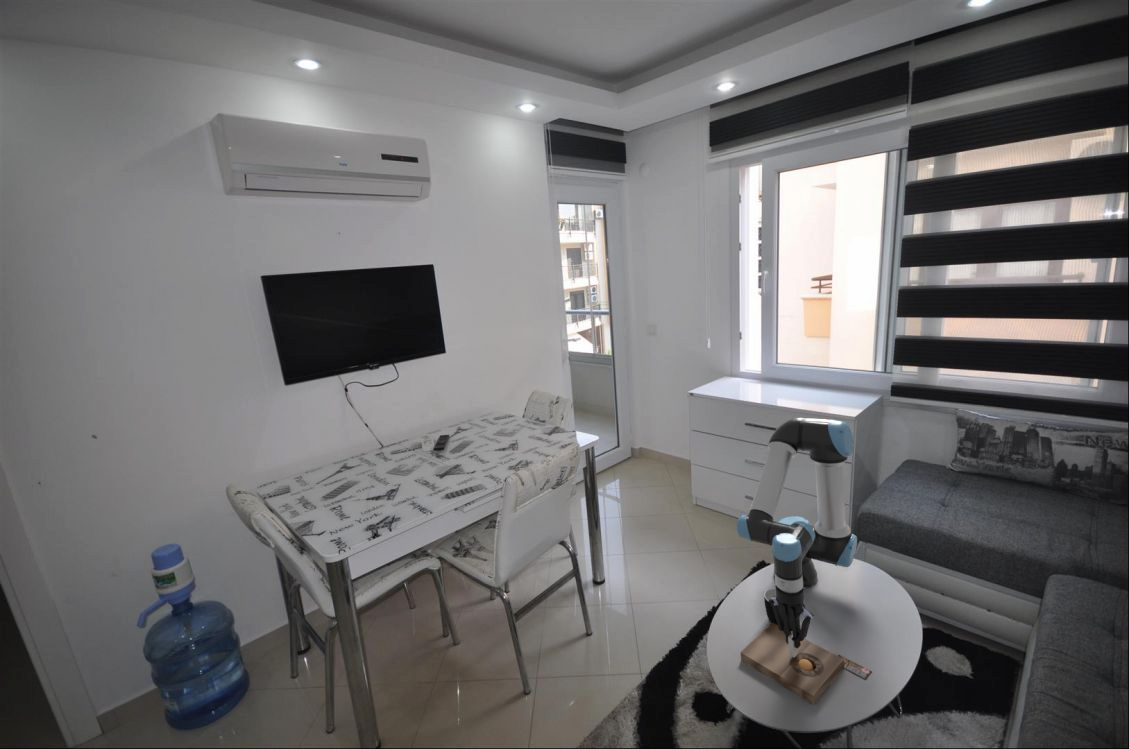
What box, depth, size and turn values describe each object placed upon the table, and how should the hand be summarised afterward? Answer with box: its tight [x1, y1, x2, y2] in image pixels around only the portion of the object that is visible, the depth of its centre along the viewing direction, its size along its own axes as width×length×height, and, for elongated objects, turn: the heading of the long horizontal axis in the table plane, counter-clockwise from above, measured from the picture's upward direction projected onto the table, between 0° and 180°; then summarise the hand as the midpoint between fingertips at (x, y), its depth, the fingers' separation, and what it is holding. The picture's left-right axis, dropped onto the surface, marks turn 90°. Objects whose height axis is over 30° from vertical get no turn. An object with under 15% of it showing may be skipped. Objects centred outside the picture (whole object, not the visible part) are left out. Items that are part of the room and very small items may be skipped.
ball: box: [798, 659, 814, 671], centre depth 148 cm, size 4×4×4 cm
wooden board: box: [740, 623, 845, 706], centre depth 152 cm, size 23×18×3 cm
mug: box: [763, 587, 782, 625], centre depth 169 cm, size 12×9×10 cm
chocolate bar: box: [837, 654, 873, 681], centre depth 148 cm, size 11×5×1 cm, turn 37°
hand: (793, 653), depth 151 cm, fingers closed
